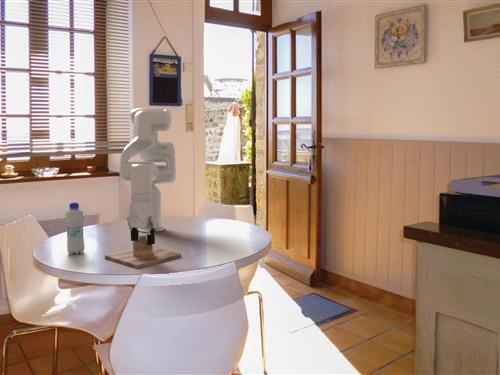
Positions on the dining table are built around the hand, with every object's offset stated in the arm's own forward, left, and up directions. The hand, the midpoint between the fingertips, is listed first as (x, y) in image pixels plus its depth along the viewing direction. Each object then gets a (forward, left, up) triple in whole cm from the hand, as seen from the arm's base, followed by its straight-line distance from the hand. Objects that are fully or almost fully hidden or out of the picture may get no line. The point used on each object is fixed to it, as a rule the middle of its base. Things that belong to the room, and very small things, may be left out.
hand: (142, 242), depth 181 cm
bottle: (-25, -13, -6) cm, 29 cm away
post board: (0, 0, -6) cm, 6 cm away
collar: (0, 0, -5) cm, 5 cm away
